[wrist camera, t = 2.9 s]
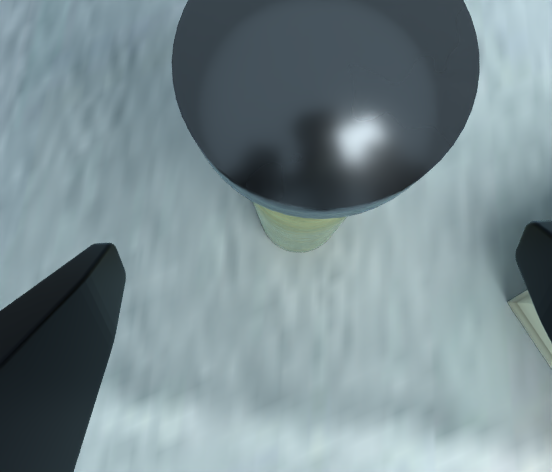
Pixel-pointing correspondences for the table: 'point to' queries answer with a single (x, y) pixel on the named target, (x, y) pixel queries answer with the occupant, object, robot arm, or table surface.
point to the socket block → (532, 324)
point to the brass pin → (323, 101)
